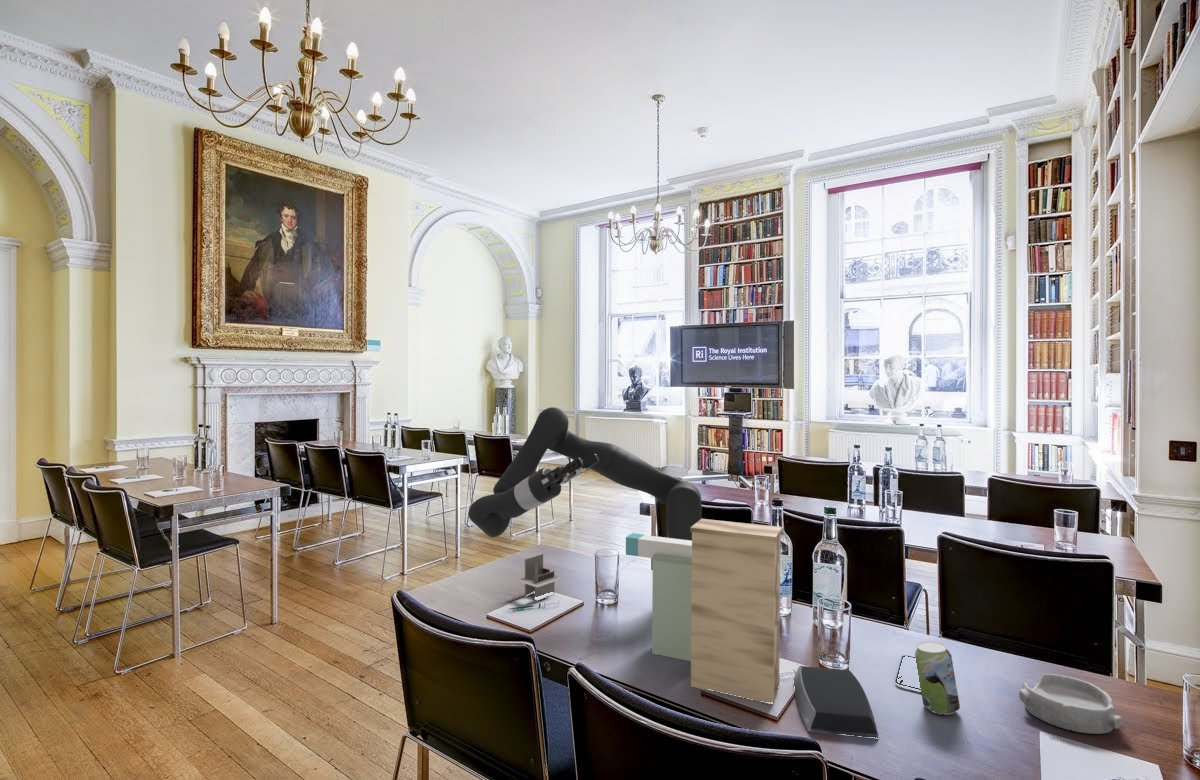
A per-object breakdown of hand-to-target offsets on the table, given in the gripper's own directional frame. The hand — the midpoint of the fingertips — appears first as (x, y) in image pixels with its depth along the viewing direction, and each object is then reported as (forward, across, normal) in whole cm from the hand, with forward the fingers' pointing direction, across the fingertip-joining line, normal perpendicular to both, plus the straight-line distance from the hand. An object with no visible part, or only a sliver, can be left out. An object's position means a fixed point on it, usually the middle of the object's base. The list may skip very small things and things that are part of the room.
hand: (589, 459), depth 139 cm
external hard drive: (+24, -5, +65) cm, 69 cm away
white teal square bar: (+7, +4, +29) cm, 30 cm away
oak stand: (+9, -6, +55) cm, 56 cm away
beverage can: (+40, +2, +73) cm, 83 cm away
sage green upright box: (-3, +4, +48) cm, 48 cm away
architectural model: (-44, +22, +25) cm, 55 cm away
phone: (+38, +15, +72) cm, 83 cm away
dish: (+59, +10, +84) cm, 103 cm away
